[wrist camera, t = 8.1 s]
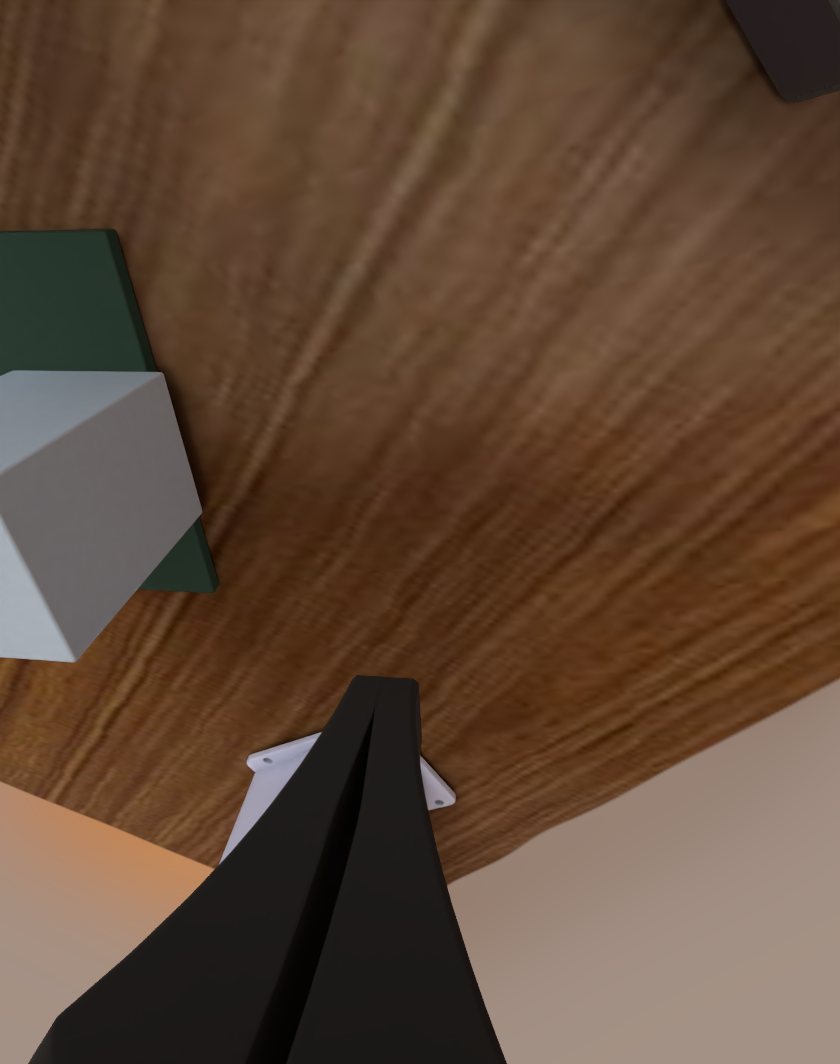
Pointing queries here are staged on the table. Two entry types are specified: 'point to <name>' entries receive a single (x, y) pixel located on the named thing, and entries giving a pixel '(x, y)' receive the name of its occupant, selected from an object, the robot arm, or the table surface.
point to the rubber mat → (85, 341)
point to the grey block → (84, 502)
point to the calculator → (794, 43)
